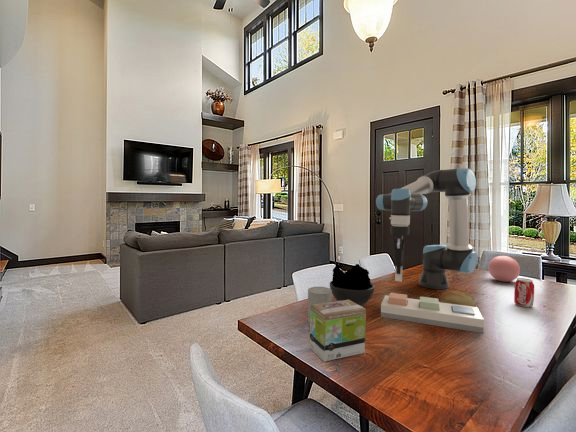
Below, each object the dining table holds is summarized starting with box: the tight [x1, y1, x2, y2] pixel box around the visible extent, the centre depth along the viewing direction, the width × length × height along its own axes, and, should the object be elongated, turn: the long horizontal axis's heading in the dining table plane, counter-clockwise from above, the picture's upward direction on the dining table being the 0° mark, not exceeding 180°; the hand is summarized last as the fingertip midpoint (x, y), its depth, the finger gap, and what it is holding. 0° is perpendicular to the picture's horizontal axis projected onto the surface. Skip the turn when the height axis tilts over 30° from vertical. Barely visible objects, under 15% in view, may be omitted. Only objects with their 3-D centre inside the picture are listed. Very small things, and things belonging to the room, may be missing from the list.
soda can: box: [513, 277, 535, 308], centre depth 138 cm, size 7×7×12 cm
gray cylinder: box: [307, 286, 333, 323], centre depth 120 cm, size 10×10×12 cm
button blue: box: [452, 305, 474, 315], centre depth 118 cm, size 7×7×3 cm
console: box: [380, 294, 485, 334], centre depth 123 cm, size 14×36×5 cm, turn 65°
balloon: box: [487, 255, 521, 283], centre depth 181 cm, size 15×20×15 cm
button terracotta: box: [388, 292, 408, 306], centre depth 128 cm, size 7×7×3 cm
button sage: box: [419, 296, 440, 310], centre depth 123 cm, size 7×7×3 cm
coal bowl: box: [329, 263, 376, 306], centre depth 137 cm, size 20×20×19 cm
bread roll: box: [439, 289, 477, 307], centre depth 134 cm, size 10×15×8 cm, turn 42°
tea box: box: [309, 300, 367, 363], centre depth 96 cm, size 15×10×15 cm
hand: (398, 280), depth 127 cm, fingers closed
